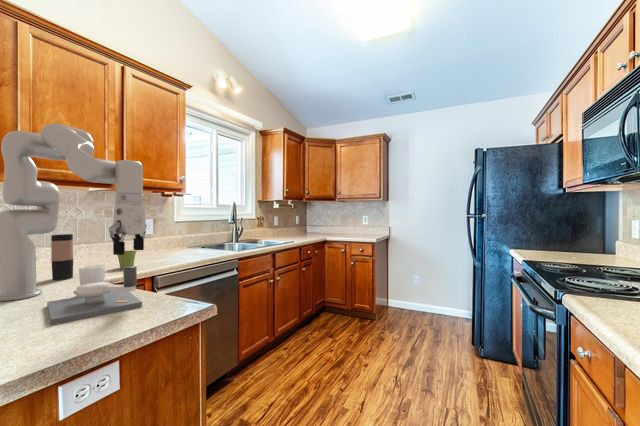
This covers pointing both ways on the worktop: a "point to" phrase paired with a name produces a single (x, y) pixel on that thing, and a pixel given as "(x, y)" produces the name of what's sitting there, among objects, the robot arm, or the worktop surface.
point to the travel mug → (62, 256)
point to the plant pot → (127, 259)
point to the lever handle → (109, 285)
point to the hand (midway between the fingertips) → (129, 252)
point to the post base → (91, 306)
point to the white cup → (92, 274)
